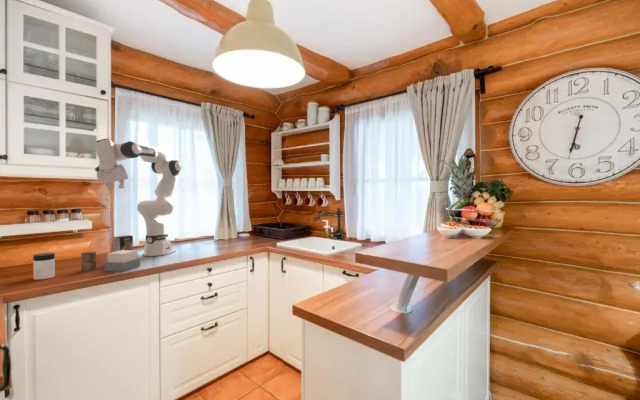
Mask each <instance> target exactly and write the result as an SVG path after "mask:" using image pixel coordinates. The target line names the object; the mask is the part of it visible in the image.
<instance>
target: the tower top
mask: <svg viewBox="0 0 640 400" xmlns="http://www.w3.org/2000/svg"><path fill="white" fill-rule="evenodd" d="M137 258H138V250H134V249H133V250H120V251H115V252H113V251H112V252H107V262H119V263H124V262H128V261H131V260H135V259H137Z"/></svg>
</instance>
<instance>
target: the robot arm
mask: <svg viewBox="0 0 640 400" xmlns="http://www.w3.org/2000/svg"><path fill="white" fill-rule="evenodd" d="M94 147H95V152H96V155H97V157H98V160H99V161H98V162H99V164H98V165H97V166H96V167H95V168H94V171H95V172H96V177H97V178H96V179H97V180H98V183H99V184H101V185H103V184H104V185H105V187H106V188H107V190H108V191H113V187H112V186H111V183H114V182H119V185H118V188H119V189H124V188H125V186H124V185H125V180H129V175H128V172H127V170H126V168H125V166H124V165H122V164H119V162H120V161H123V160H129V159H135V158H139V157H140V158H141V160H142V161H144V162H146V163H151V165H150V166H151V167H150V168H151V170H152V172H153V173H155V174H158V175H162V177H161V179H160V181H158V184H157V186H156V188H155V189H154V194H155V196H156V199H153V200H152V199H149V200H148V199H146V200H142V201H140V202H139V203H138V204H137V212H138V213H139V214H140V215H141V216H142V218H143V220H144V222H145V227H146V230H145V233H146V235H145V243H144V250H143V253H142V254H143V256H145V257H157V256H165V255H169V254H172V253H174V252H176V251H177V249H175V248H173V244H172V242H170V241H169V240H167V238H168V237H169V234H168V233H165V223H164V222H163V221H161V219H160V217H159V216H168V215H172V213H173V211H174V206H173V203H172V202H171V197H172V195H173V192H174V190H175V188H176V185H177V182H178V175H179V174H180V173H181V171H182V168H183V167H182V166H183V165H182V163H181V161H180V160H178V159H175V158H168V153H167V151H166V150H165V149H163V148H160V147H156V146H146V145H140V144H138V143H136V142H134V141H129V140H128V141H126V142H123V143H119V144H118V143H115V142H113V140H111V138H103V139H99V140H96V141H95V143H94ZM118 161H119V162H118Z"/></svg>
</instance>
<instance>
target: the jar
mask: <svg viewBox="0 0 640 400" xmlns="http://www.w3.org/2000/svg"><path fill="white" fill-rule="evenodd" d="M55 259H56V253H55V252H42V253H36V254H33V255H32V261H33V263H32V264H33V267H32V268H33V273H32V274H33V280H34V281H35V280H46V279H51V278H55V277H56V267H55V266H56V265H55V264H56V262H55V261H56V260H55Z"/></svg>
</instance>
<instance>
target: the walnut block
mask: <svg viewBox="0 0 640 400" xmlns="http://www.w3.org/2000/svg"><path fill="white" fill-rule="evenodd" d="M80 254H81V255H80V256H81V257H80V258H81V259H80V260H81V268H80V269H81V271H82V272H91V271H94V270H96V269H97V252H96V251H86V252H81V253H80Z"/></svg>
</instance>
